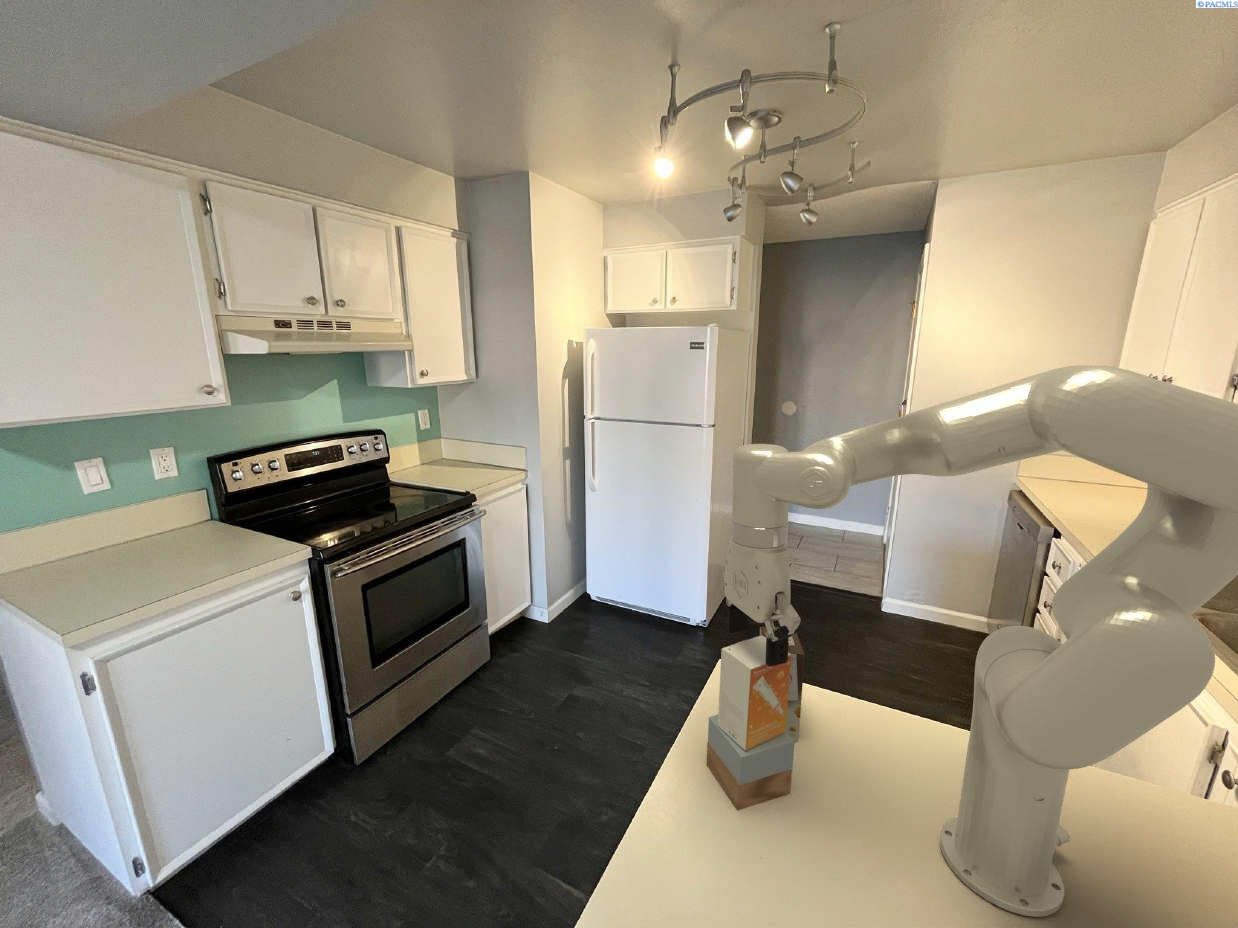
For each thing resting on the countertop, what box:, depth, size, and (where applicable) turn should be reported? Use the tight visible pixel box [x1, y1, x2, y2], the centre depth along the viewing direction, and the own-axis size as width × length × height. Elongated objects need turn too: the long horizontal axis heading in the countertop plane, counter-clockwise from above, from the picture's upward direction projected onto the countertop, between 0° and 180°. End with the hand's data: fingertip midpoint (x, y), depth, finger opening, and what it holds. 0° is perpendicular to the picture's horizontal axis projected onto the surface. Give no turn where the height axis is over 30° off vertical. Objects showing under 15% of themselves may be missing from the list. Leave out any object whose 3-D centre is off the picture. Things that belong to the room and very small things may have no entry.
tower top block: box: [707, 714, 796, 785], centre depth 78 cm, size 9×9×4 cm
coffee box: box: [759, 626, 806, 742], centre depth 90 cm, size 9×6×16 cm
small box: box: [717, 635, 792, 751], centre depth 76 cm, size 8×6×13 cm
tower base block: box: [706, 741, 793, 811], centre depth 79 cm, size 9×9×4 cm
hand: (755, 646), depth 75 cm, fingers open, 9 cm apart
